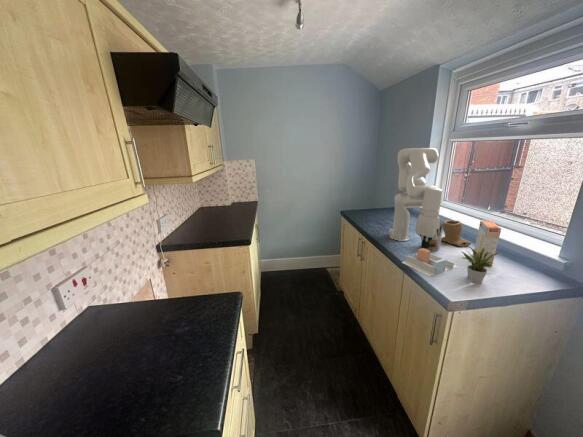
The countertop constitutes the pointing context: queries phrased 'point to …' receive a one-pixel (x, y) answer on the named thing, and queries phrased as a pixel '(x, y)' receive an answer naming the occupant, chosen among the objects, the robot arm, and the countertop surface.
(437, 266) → the wall shelf
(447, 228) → the tan piece
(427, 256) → the peach cardboard carton
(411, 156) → the robot arm
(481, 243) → the cracker box
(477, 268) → the house plant
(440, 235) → the coffee box
